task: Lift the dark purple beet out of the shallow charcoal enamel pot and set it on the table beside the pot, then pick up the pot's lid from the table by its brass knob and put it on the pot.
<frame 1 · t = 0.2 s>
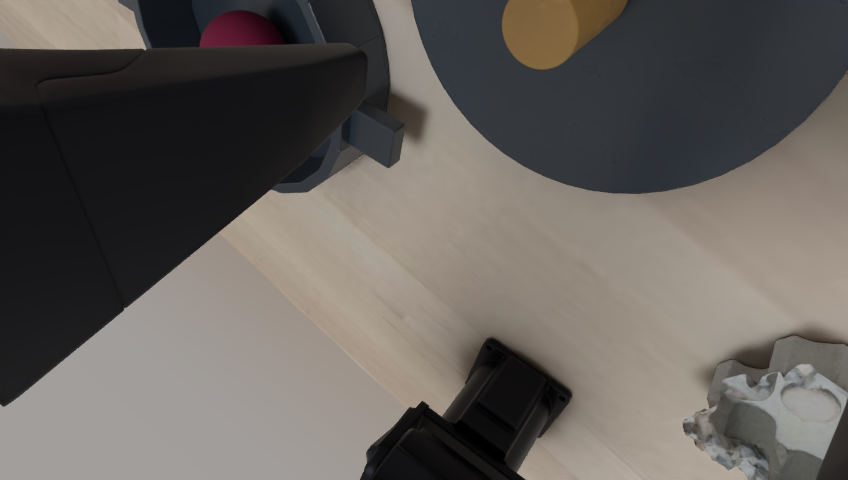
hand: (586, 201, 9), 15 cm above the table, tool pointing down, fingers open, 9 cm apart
egg carton: (845, 421, 25), on the table
pot: (280, 40, 33), on the table
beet: (276, 42, 33), resting on pot
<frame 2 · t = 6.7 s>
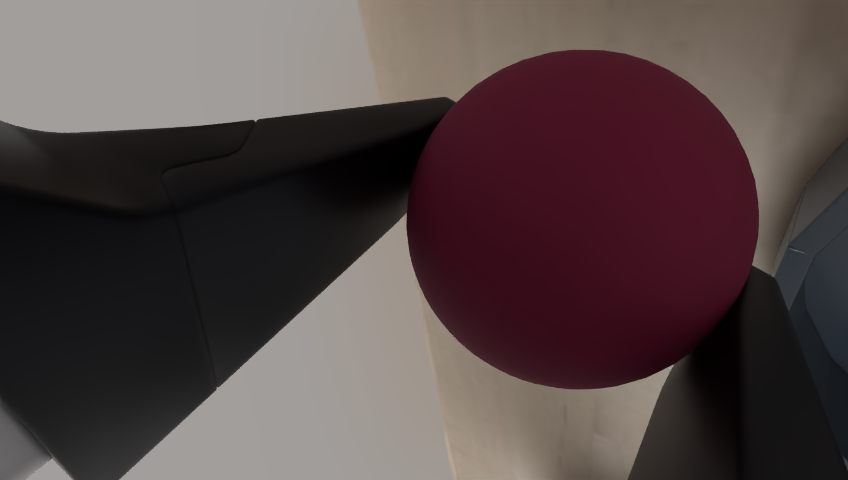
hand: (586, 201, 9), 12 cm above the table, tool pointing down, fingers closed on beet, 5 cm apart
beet: (625, 149, 10), point 10 cm above the table, touching gripper
when the fingers open (2 cm above the table, at t = 9.5 s): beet stays where it is, on the table.
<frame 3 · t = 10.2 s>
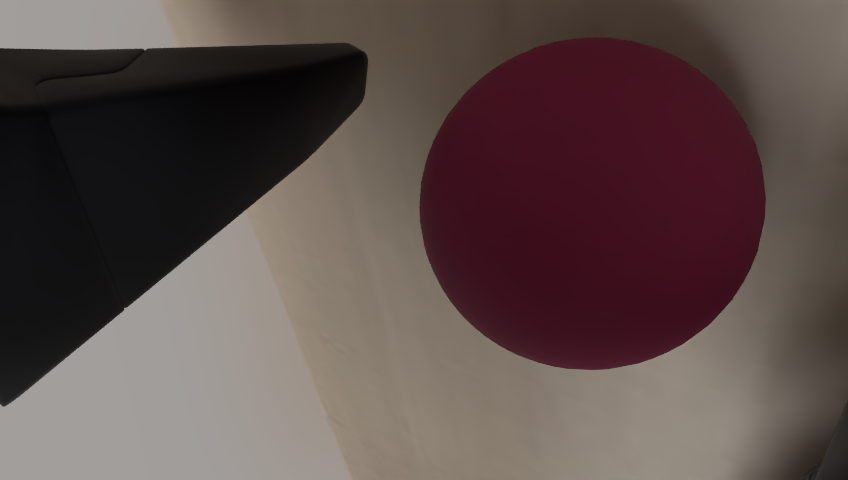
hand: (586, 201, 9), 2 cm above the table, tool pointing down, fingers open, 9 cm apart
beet: (632, 143, 10), on the table
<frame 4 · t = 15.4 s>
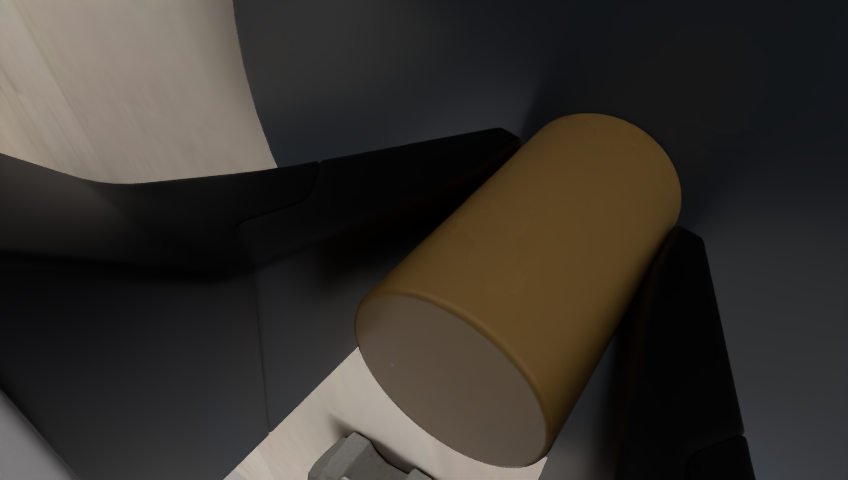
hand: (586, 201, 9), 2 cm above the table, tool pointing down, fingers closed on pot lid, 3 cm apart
pot lid: (607, 173, 9), point 1 cm above the table, touching gripper
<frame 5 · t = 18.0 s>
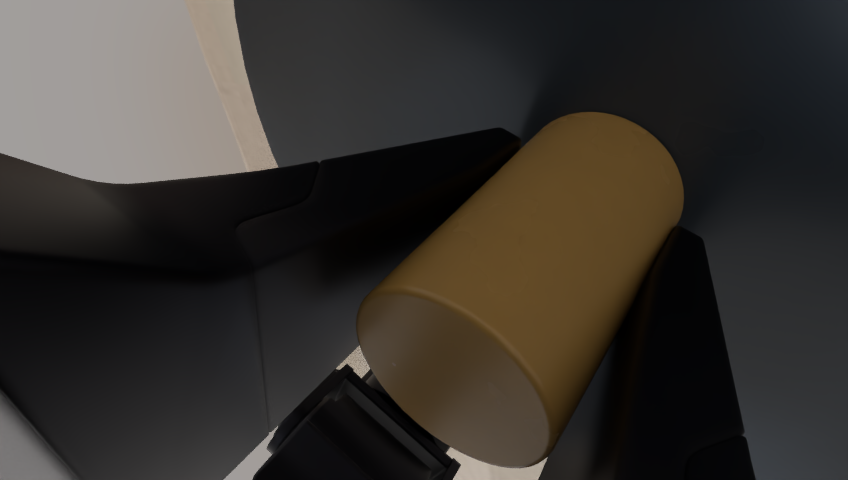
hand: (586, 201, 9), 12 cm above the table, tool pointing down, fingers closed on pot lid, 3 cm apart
pot lid: (609, 172, 9), point 11 cm above the table, touching gripper
when the fingers open (5 cm above the table, at t = 20.8 s): pot lid stays where it is, resting on pot.
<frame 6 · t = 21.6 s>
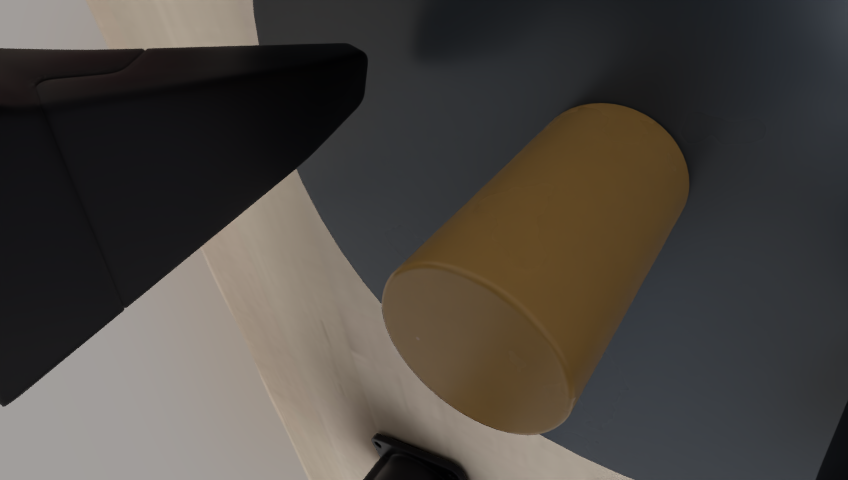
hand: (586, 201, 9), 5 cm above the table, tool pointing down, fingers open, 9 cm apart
pot lid: (617, 161, 9), point 4 cm above the table, touching pot
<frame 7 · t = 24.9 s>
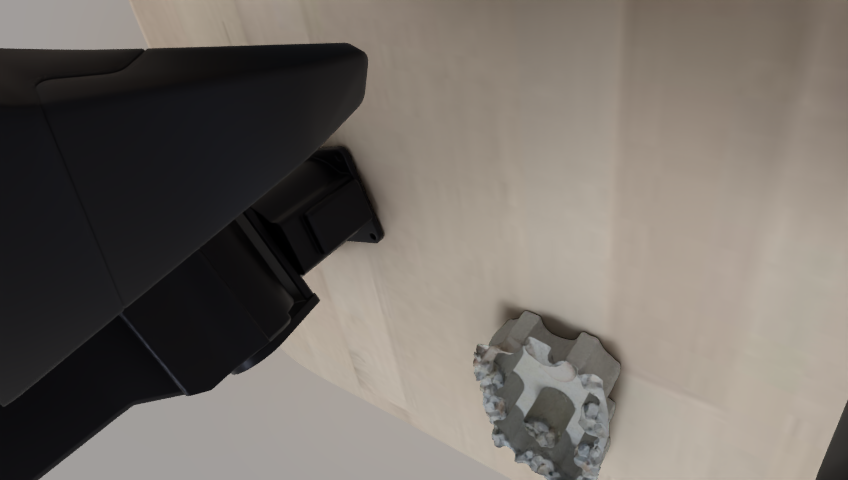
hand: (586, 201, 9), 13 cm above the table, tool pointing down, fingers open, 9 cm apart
egg carton: (563, 381, 33), on the table
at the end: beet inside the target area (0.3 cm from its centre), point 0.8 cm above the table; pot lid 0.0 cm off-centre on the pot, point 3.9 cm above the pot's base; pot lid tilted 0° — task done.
